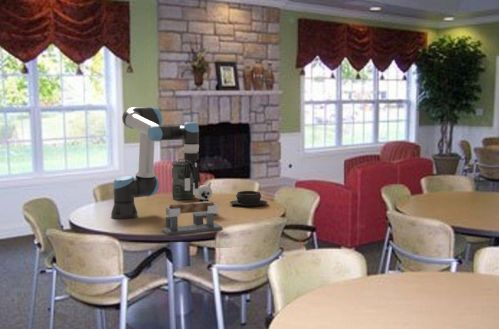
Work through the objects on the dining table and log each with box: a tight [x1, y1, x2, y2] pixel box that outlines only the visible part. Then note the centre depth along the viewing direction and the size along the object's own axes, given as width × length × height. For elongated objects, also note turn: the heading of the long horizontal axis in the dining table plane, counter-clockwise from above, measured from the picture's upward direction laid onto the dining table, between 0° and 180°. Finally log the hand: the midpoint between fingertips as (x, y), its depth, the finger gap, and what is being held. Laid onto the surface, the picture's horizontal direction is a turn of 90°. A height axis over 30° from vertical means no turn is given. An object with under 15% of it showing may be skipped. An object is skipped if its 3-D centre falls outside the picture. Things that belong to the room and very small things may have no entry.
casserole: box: [229, 190, 268, 207], centre depth 353 cm, size 25×19×8 cm
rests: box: [164, 214, 204, 228], centre depth 294 cm, size 20×5×5 cm, turn 115°
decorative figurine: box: [192, 181, 216, 217], centre depth 323 cm, size 15×15×20 cm
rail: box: [169, 200, 214, 215], centre depth 282 cm, size 22×4×4 cm, turn 115°
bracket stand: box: [161, 202, 223, 236], centre depth 282 cm, size 30×10×13 cm, turn 115°
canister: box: [171, 158, 196, 201], centre depth 377 cm, size 16×16×28 cm
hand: (191, 192), depth 281 cm, fingers open, 13 cm apart
